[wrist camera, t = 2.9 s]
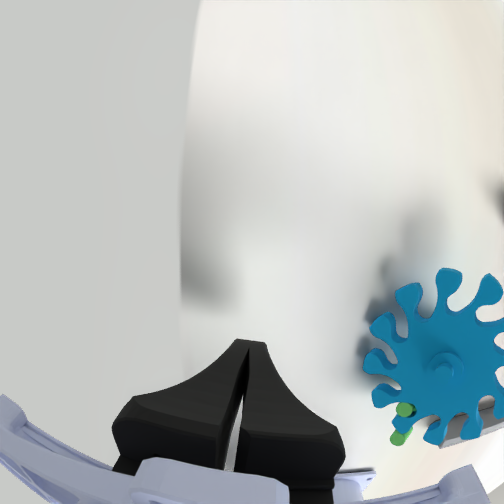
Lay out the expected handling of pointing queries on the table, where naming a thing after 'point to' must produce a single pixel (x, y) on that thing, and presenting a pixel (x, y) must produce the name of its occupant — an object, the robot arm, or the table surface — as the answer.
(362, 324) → the table surface
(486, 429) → the grey open frame
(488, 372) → the gear
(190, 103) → the table surface
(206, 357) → the table surface
